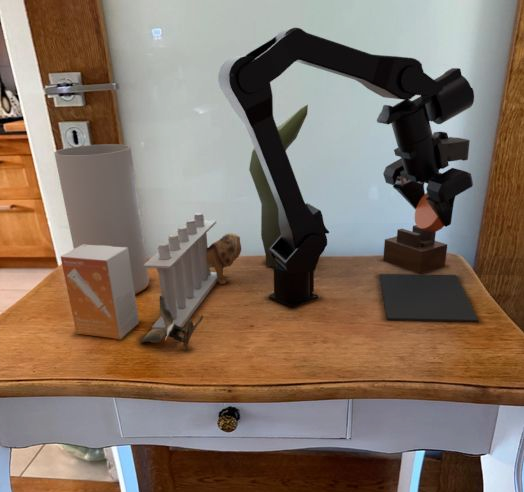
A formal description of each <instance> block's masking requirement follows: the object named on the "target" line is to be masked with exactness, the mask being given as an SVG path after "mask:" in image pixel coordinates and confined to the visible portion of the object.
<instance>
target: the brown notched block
mask: <svg viewBox="0 0 524 492" xmlns="http://www.w3.org/2000/svg"><path fill="white" fill-rule="evenodd" d="M436 234H437V231H436V232H429V231H426V230H424V229H421V228H419V227H418V226H417V225H416V224H415V225H412V231H411V230H408V229H405V228H398V229H397V232H396V236H393V237H389V238H385V239H384V245H383V260H382V261H383V262H386V263H389V264H391V265H393V266H397V267H400V268H403V269H406V270H408V271H410V272H411V271H412V272H413V273H415V274H419V275H422V274H424V273H427V272H431V271H433V270H438V269H440V268H444V267H446V260H447V253H448V243H445V242H442V241H437V240H436Z"/></svg>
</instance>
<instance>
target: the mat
mask: <svg viewBox="0 0 524 492" xmlns="http://www.w3.org/2000/svg"><path fill="white" fill-rule="evenodd" d="M379 279H380V285H381V292H382V299H383V305H384V312H385V318H386V321H405V322H406V321H407V322H408V321H410V322H411V321H412V322H413V321H415V322H451V323H452V322H453V323H454V322H457V323H460V322H461V323H479V319H478V316H477V314H476V312H475V310H474V308H473V307H472V305H471V303H470V300H469V298H468V296H467V295H466V293H465V291H464V288H463V287H462V284H461V283H460V281H459V278H458V277H457V275H456V274H419V273H415V274H413V273H411V274H409V273H407V274H405V273H404V274H403V273H380V274H379Z"/></svg>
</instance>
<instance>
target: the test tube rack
mask: <svg viewBox="0 0 524 492" xmlns="http://www.w3.org/2000/svg"><path fill="white" fill-rule="evenodd" d="M216 224H217V220H206V219H205V215H204V213H203V212H195V213H194V215H193V218H190V219H187V220H186V221H185V225H186V226H184V225H183V226H178V227H177V231H176V232H177V233H172V234H169V235H168V237H167V241H168V242H165V241H164V242H163V241H162V242H160V243H158V245H157V246H158V247H157V250H158V252H156V253H155V254H154V255H153V256H152V257H151V258H150V259H148V260H147V262H146V263H145V264H144V265H143V267H144V268H148V269H156V270H157V273H158V279H159V287H160V293H161V295H160V296H162V297H163V298H164V304H165V307H166V309H168V310H169V311H170V313H171V315H172V317H173V322H174V324H176V325H177V326H180V327H182V328H184V327H185V325H186V324H187V323H188V319H191V317H192V316H193V314H194V313H195V312H196V310H197V309H198V307H199V306H200V305H201V304H202V302H203V301H204V300H205V298H206V297H207V295H208V294H209V293H210V291H211V290H212V289H213V288H214V286H215V285H216V284H217V282H218V279H217V275H216V271H211V268H208V265H207V261H206V256H207V250H206V248H208V247H209V246H208V236H207V234H208V233H207V232H209V231H210V230H211V229H212V228H214V226H215V225H216ZM165 326H166V323H165V321H164V320H163V318H162V316H161V315H160V317H159V318H158V319H157V320H156V321H155V323H154V324H153V325H152V326H151V330H153V329H160V328H164V327H165Z"/></svg>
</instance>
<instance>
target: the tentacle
mask: <svg viewBox="0 0 524 492" xmlns="http://www.w3.org/2000/svg"><path fill="white" fill-rule="evenodd" d="M308 107H309V105H308V104H306V105H304V106H303V107H300V108H299V109H298V110H297V111H295V113H293V114H292V115H290V117H288V119H286V120H285V121H284V122H282V124H280V125H278V126H277V129H278V131H279V134H280V137H281V140H282V142H283V145H284V148H285V151H286V152H287V149H289V147H290V146H291V145H292V144H293V143H294V141H296V139H297V137H298V136H299V133H300V130H301V129H302V127H303V125H304V122H305V120H306V117H307V116H308ZM248 171H249V173H250V176H251V178H252V181H253V183H254V184H253V185H254V187H255V189H256V193H257V196H258V198H259V202H260V204H261V205H260V206H261V207H260V208H261V211H260V212H261V214H260V215H261V217H260V221H261V222H260V237H261V242H262V246H263V249H264V255H265V266H266V267H273V268H274V266H276V265H277V262H276V261H275V260H273V259H272V256H271V254H270V251H269V249H270V247H271V246H272V245H273V244H274V243H275V242H276V240H277V239H278V238H279V237H280V236H281V232H280V227H279V210H278V206H277V203H276V201H275V198H274V196H273V193H272V191H271V188H270V186H269V183H268V181H267V178H266V176H265V173H264V171H263V168H262V166H261V163H260V160H259V158H258V155H257V153H256V150H255V148H254V147H253V148H252V151H251V157H250V162H249V168H248Z"/></svg>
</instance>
